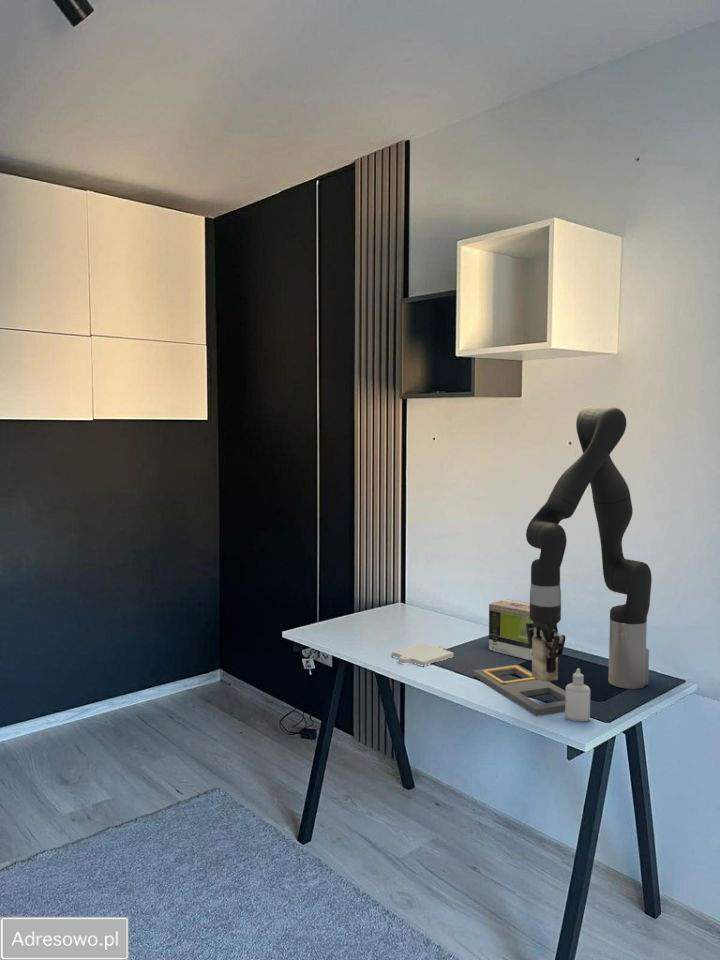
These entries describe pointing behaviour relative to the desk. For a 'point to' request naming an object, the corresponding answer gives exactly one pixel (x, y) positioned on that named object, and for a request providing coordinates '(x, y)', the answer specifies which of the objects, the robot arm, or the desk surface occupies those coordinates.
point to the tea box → (510, 628)
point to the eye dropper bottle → (577, 699)
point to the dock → (523, 688)
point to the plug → (541, 661)
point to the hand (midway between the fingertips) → (544, 668)
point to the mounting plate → (422, 654)
